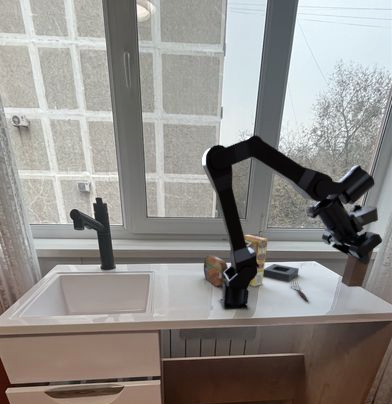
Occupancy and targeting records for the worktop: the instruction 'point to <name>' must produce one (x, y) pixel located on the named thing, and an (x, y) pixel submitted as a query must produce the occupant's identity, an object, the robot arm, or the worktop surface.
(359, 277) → the walnut post
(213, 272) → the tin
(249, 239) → the candy box
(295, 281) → the fork
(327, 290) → the worktop surface
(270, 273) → the base pad
